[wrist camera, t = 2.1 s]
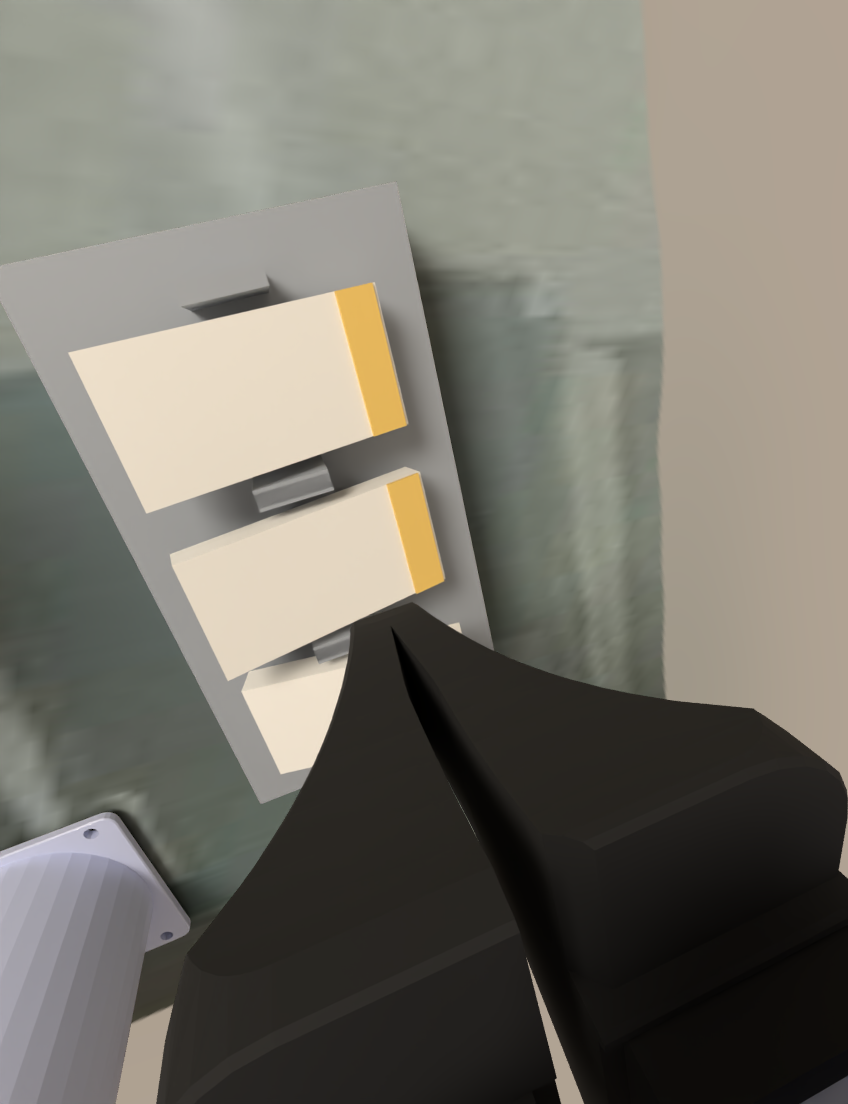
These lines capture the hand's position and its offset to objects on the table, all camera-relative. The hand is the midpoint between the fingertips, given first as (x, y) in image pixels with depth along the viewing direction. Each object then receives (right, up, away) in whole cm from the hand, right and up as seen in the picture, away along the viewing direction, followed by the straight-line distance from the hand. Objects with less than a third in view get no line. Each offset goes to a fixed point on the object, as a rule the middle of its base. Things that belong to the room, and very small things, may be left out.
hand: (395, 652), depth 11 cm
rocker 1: (-3, +6, +2) cm, 7 cm away
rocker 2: (-2, +2, +5) cm, 5 cm away
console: (-4, +3, +9) cm, 10 cm away
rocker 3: (-1, -3, +7) cm, 7 cm away
